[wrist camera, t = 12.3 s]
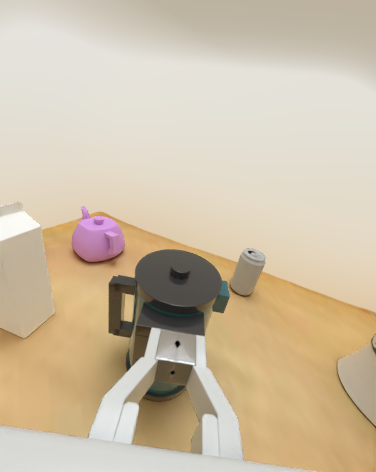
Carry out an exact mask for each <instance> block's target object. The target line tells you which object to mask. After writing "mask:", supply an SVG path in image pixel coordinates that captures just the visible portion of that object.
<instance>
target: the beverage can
mask: <svg viewBox="0 0 376 472" xmlns="http://www.w3.org/2000/svg"><path fill="white" fill-rule="evenodd" d="M265 259H266V257H265V255H264V254H263V253H261V252H260V251H258V250H254V249H250V248H247V249H245V250H244V252H242V253H241V255H240V258H239V261H238V263H237V266H236V269H235V271H234V274H233V277H232V279H231V282H230V285H231V288H232V289H233V290H234V291H235V292H236V293H238V294H240V295H250V294H251V293H252V292H253V289H254V287H255V285H256V283H257V281H258V278H259V276H260V274H261V272H262V270H263V267H264V265H265Z"/></svg>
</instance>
